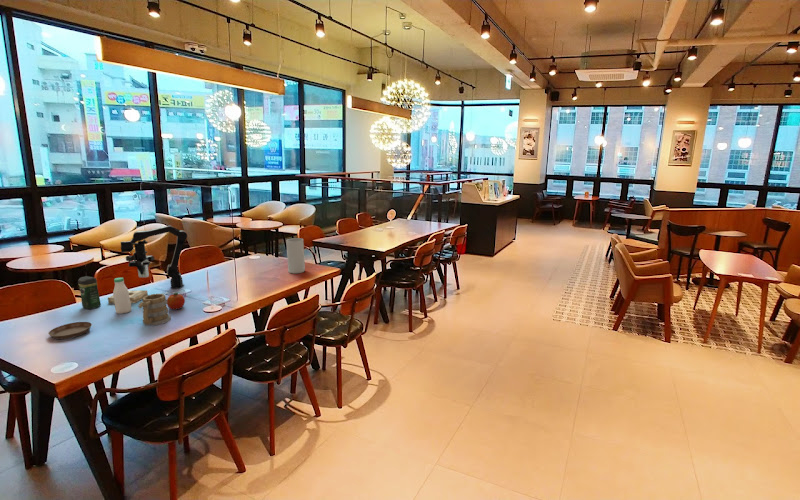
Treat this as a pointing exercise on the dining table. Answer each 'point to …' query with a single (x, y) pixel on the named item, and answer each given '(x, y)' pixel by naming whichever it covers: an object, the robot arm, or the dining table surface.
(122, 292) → the milk bottle
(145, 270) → the tall grey box
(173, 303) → the fruit
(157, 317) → the tankard
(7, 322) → the dining table surface
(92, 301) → the coffee jar
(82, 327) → the plant saucer
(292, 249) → the cylinder vase
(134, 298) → the well block
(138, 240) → the robot arm
